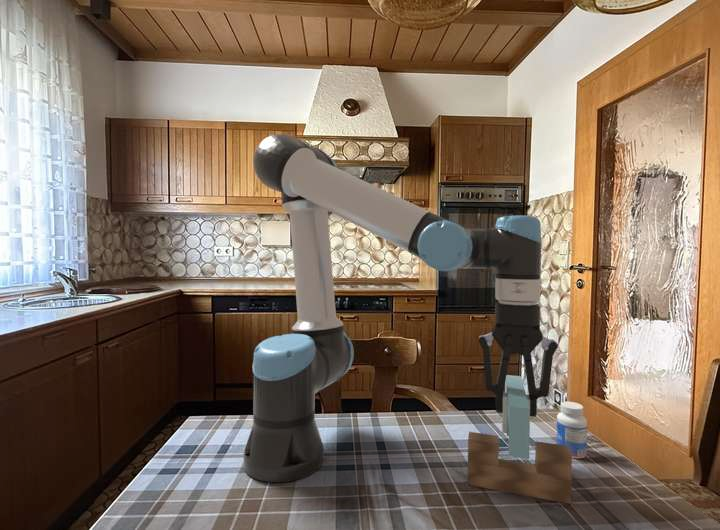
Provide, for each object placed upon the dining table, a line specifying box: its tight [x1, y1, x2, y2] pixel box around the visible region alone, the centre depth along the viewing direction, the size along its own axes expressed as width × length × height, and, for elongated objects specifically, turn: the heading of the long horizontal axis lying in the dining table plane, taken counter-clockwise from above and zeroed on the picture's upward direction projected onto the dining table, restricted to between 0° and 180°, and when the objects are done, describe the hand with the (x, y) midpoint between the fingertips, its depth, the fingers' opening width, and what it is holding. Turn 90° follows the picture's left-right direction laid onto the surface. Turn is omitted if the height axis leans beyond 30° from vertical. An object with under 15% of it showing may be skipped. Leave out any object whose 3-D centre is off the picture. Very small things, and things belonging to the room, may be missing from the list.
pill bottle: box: [556, 401, 588, 459], centre depth 78 cm, size 6×5×10 cm
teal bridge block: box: [504, 374, 531, 460], centre depth 70 cm, size 3×18×8 cm, turn 161°
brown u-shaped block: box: [467, 431, 573, 505], centre depth 66 cm, size 16×3×8 cm, turn 71°
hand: (515, 431), depth 70 cm, fingers closed on teal bridge block, 3 cm apart
